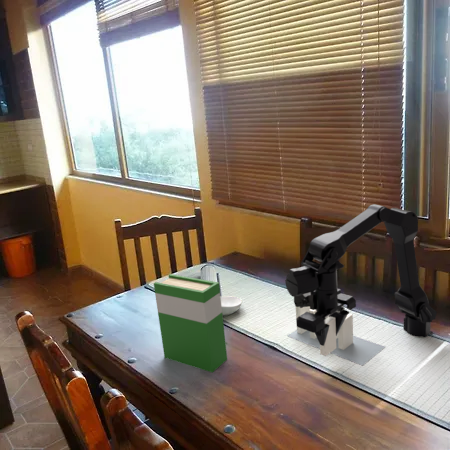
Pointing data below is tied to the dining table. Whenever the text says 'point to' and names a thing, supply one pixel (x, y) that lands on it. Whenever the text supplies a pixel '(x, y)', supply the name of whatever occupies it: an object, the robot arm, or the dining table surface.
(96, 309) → the dining table surface
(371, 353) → the domino board
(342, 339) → the domino
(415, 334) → the robot arm
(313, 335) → the domino
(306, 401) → the dining table surface
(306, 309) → the domino
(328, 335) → the domino
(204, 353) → the hardback book
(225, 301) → the spoon rest
